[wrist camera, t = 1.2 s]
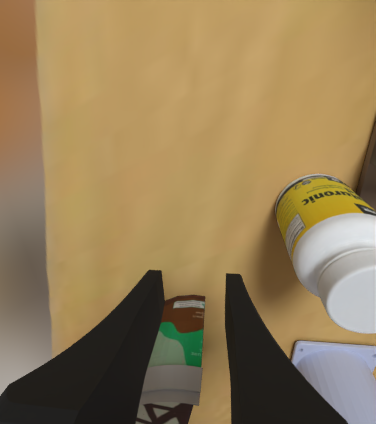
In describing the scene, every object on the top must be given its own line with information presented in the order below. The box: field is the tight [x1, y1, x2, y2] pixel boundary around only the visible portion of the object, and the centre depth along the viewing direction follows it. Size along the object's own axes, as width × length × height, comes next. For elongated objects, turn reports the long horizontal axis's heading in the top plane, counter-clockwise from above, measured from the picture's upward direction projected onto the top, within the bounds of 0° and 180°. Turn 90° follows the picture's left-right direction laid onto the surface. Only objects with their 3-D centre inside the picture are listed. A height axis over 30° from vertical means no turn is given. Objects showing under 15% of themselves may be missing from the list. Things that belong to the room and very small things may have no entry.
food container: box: [136, 295, 205, 424], centre depth 23 cm, size 12×6×10 cm, turn 172°
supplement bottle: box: [275, 174, 376, 333], centre depth 16 cm, size 5×5×10 cm
